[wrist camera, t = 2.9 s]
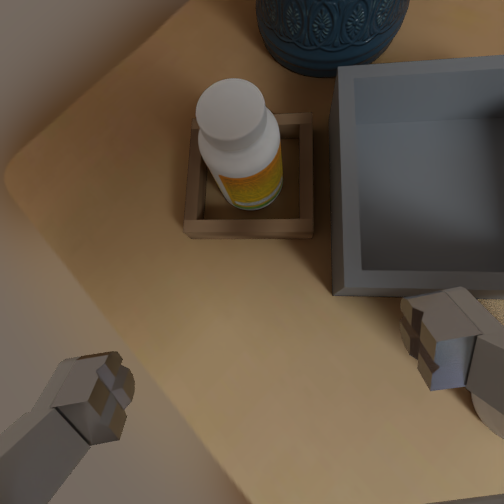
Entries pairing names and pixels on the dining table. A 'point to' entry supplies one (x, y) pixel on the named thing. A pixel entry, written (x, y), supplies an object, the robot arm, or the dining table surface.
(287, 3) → the canister
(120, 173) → the dining table surface
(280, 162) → the supplement bottle
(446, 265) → the bin
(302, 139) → the socket collar
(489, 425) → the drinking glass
